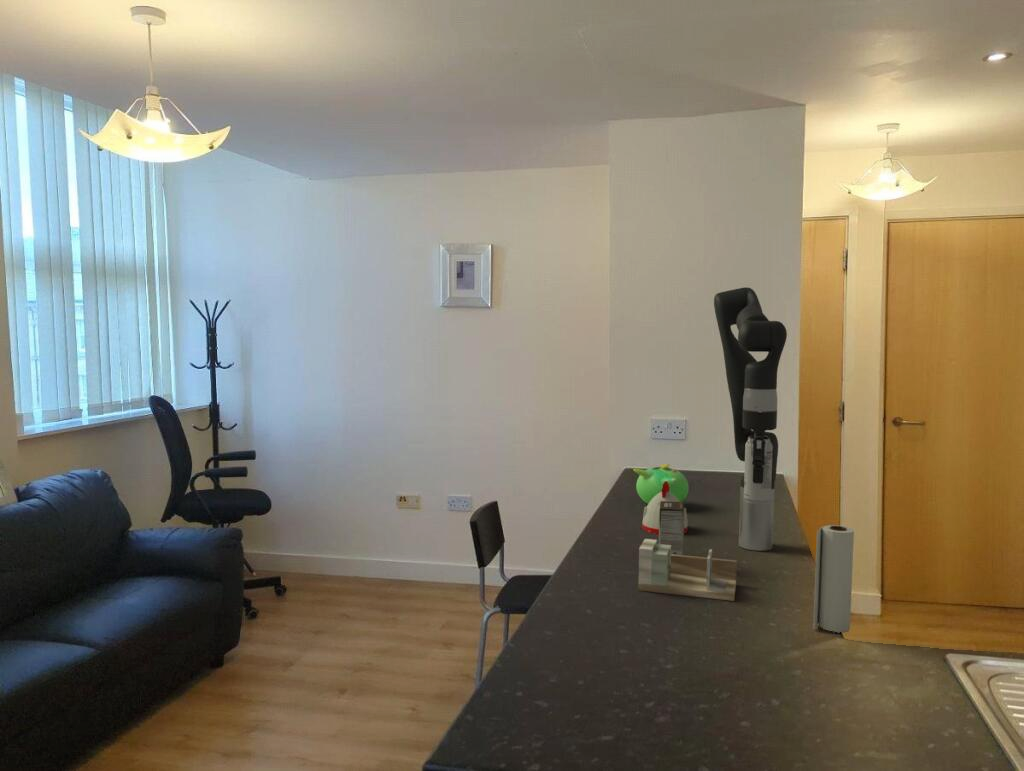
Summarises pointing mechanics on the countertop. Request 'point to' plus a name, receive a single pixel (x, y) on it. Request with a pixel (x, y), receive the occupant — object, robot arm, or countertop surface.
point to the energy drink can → (763, 491)
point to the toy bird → (661, 482)
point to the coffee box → (672, 526)
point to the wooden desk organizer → (685, 573)
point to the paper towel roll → (833, 578)
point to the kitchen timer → (653, 510)
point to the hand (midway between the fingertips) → (757, 480)
